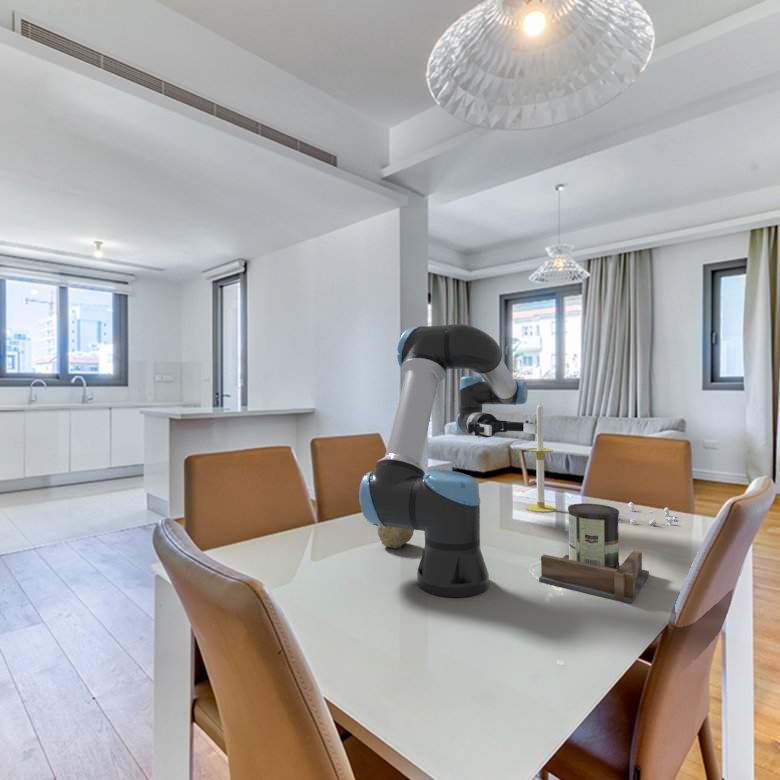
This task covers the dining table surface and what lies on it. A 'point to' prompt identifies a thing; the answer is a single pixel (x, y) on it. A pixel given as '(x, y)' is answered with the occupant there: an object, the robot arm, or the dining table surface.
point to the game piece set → (653, 522)
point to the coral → (394, 536)
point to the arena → (596, 576)
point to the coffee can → (594, 534)
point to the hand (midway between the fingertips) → (513, 430)
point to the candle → (540, 466)
